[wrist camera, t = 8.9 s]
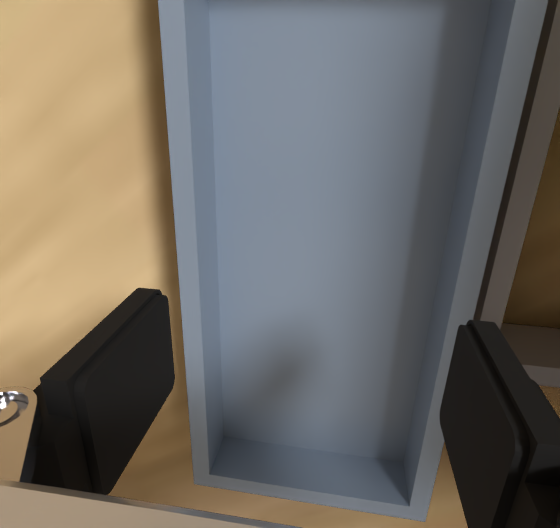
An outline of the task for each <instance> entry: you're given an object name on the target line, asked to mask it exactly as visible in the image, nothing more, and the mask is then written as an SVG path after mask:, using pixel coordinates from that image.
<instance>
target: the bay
mask: <svg viewBox="0 0 560 528" xmlns="http://www.w3.org/2000/svg"><path fill="white" fill-rule="evenodd" d="M559 108H560V0H548V4H547V8H546V12H545V16H544V21H543V25H542V29H541V33H540V38H539V42H538V46H537V50H536V55H535V59H534V63H533V67H532V72H531V76H530V80H529V84H528V88H527V93H526V97H525V101H524V105H523V110H522V114H521V118H520V122H519V127H518V131H517V135H516V139H515V144H514V148H513V152H512V156H511V161H510V165H509V169H508V173H507V178H506V182H505V186H504V190H503V194H502V199H501V203H500V207H499V211H498V216H497V220H496V224H495V228H494V233H493V237H492V241H491V245H490V250H489V254H488V258H487V262H486V267H485V271H484V275H483V279H482V284H481V288H480V292H479V296H478V300H477V305H476V309H475V313H474V317H473V320H478V321H489V322H495V323H496V325H497V326H498V328H499V329H500V331H501V333H502V334H503V336H504V337H505V339H506V341H507V342H508V344H509V345H510V347H511V349H512V350H513V352H514V353H515V355H516V356H517V358H518V360H519V361H520V363H521V364H522V366H523V368H524V369H525V371H526V372H527V374H528V375H529V377H530V379H532V380H534V381H535V382H536V383H537V384H538V385H542V386H550V387H559V388H560V329H558V328H548V327H538V326H528V325H518V324H508V323H502V321H503V317H504V313H505V309H506V306H507V302H508V298H509V295H510V291H511V287H512V283H513V280H514V276H515V272H516V268H517V265H518V261H519V257H520V253H521V250H522V246H523V242H524V238H525V235H526V231H527V227H528V224H529V220H530V216H531V212H532V209H533V205H534V201H535V197H536V194H537V190H538V186H539V182H540V179H541V175H542V171H543V167H544V164H545V160H546V156H547V153H548V149H549V145H550V141H551V138H552V134H553V130H554V126H555V123H556V119H557V115H558V111H559Z"/></svg>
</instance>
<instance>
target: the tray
mask: <svg viewBox="0 0 560 528" xmlns="http://www.w3.org/2000/svg"><path fill="white" fill-rule="evenodd" d="M547 4H548V0H158V7H159V21H160V34H161V48H162V61H163V74H164V88H165V101H166V114H167V128H168V141H169V155H170V168H171V181H172V195H173V208H174V222H175V235H176V248H177V262H178V275H179V289H180V302H181V315H182V329H183V342H184V356H185V369H186V382H187V396H188V409H189V423H190V436H191V449H192V463H193V476H194V484H197V485H203V486H209V487H215V488H221V489H227V490H233V491H239V492H246V493H252V494H258V495H264V496H270V497H276V498H282V499H288V500H294V501H300V502H306V503H313V504H319V505H325V506H331V507H337V508H343V509H349V510H355V511H361V512H367V513H373V514H380V515H386V516H392V517H398V518H404V519H410V520H416V521H422V522H425V521H426V517H427V512H428V508H429V504H430V500H431V496H432V491H433V487H434V483H435V479H436V474H437V470H438V466H439V462H440V457H441V453H442V449H443V445H444V437H443V433H442V430H441V426H440V416H439V415H440V407H441V403H442V398H443V394H444V389H445V385H446V380H447V376H448V371H449V367H450V362H451V357H452V353H453V348H454V344H455V339H456V335H457V330H458V327H459V325H466V324H467V322H468V321H469V320H473V317H474V313H475V309H476V305H477V300H478V296H479V292H480V288H481V284H482V279H483V275H484V271H485V267H486V262H487V258H488V254H489V250H490V245H491V241H492V237H493V233H494V228H495V224H496V220H497V216H498V211H499V207H500V203H501V199H502V194H503V190H504V186H505V182H506V178H507V173H508V169H509V165H510V161H511V156H512V152H513V148H514V144H515V139H516V135H517V131H518V127H519V122H520V118H521V114H522V110H523V105H524V101H525V97H526V93H527V88H528V84H529V80H530V76H531V72H532V67H533V63H534V59H535V55H536V50H537V46H538V42H539V38H540V33H541V29H542V25H543V21H544V16H545V12H546V8H547Z"/></svg>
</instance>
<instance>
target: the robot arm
mask: <svg viewBox="0 0 560 528" xmlns="http://www.w3.org/2000/svg"><path fill="white" fill-rule="evenodd" d="M174 380H175V374H174V363H173V351H172V339H171V328H170V316H169V305H168V298H167V296H165V295H162V293H161V291H160V290H157V289H147V288H138V289H136V290H135V291H134V292H133V293H132V294H131V295H130V296H128V297H127V298H126V299H125V300H124V301H123V302H122V303H121V304H120V305H119V306H118V307H117V308H115V309H114V310H113V311H112V312H111V313H110V314H109V315H108V316H107V317H106V318H105V319H103V320H102V321H101V322H100V323H99V324H98V325H97V326H96V327H95V328H94V329H93V330H92V331H90V332H89V333H88V334H87V335H86V336H85V337H84V338H83V339H82V340H81V341H80V342H78V343H77V344H76V345H75V346H74V347H73V348H72V349H71V350H70V351H69V352H68V353H67V354H65V355H64V356H63V357H62V358H61V359H60V360H59V361H58V362H57V363H56V364H55V365H53V366H52V367H51V368H50V369H49V370H48V371H47V372H46V373H45V374H44V375H43V376H42V377H40V381H41V384H40V385H39V386H38V387H37V388H35V389H34V390H33V391H32V390H30V389H28V388H25V387H6V388H1V389H0V528H301V527H295V526H289V525H283V524H278V523H272V522H266V521H260V520H254V519H248V518H242V517H236V516H230V515H224V514H218V513H212V512H206V511H200V510H194V509H188V508H182V507H176V506H170V505H164V504H157V503H151V502H145V501H139V500H133V499H126V498H120V497H114V496H108V494H109V493H110V492H111V490H112V489H113V487H114V486H115V484H116V482H117V481H118V479H119V477H120V476H121V474H122V472H123V471H124V469H125V467H126V466H127V464H128V462H129V461H130V459H131V457H132V456H133V454H134V452H135V451H136V449H137V447H138V446H139V444H140V442H141V441H142V439H143V437H144V436H145V434H146V432H147V431H148V429H149V427H150V426H151V424H152V422H153V421H154V419H155V417H156V416H157V414H158V412H159V411H160V409H161V407H162V406H163V404H164V402H165V401H166V399H167V397H168V396H169V394H170V392H171V390H172V388H173V385H174ZM439 416H440V426H441V430H442V433H443V437H444V441H445V444H446V448H447V452H448V455H449V459H450V463H451V466H452V470H453V474H454V478H455V481H456V485H457V489H458V492H459V496H460V500H461V503H462V507H463V511H464V514H465V518H466V522H467V525H468V528H560V418H559V417H558V415H557V414H556V412H555V410H554V409H553V407H552V406H551V404H550V403H549V401H548V400H547V398H546V396H545V395H544V393H543V392H542V390H541V389H540V387H539V386H538V384H537V383H536V382H535V381H534V380H532V379H530V377H529V375H528V374H527V372H526V371H525V369H524V368H523V366H522V364H521V363H520V361H519V360H518V358H517V356H516V355H515V353H514V352H513V350H512V349H511V347H510V345H509V344H508V342H507V341H506V339H505V337H504V336H503V334H502V333H501V331H500V329H499V328H498V326H497V325H496V323H495V322H489V321H478V320H469V321H468V322H467V324H466V325H459V327H458V330H457V335H456V339H455V344H454V348H453V353H452V357H451V362H450V367H449V371H448V376H447V380H446V385H445V389H444V394H443V398H442V403H441V407H440V415H439Z"/></svg>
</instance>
